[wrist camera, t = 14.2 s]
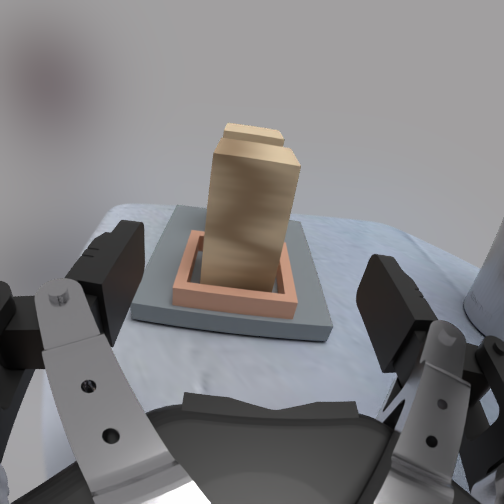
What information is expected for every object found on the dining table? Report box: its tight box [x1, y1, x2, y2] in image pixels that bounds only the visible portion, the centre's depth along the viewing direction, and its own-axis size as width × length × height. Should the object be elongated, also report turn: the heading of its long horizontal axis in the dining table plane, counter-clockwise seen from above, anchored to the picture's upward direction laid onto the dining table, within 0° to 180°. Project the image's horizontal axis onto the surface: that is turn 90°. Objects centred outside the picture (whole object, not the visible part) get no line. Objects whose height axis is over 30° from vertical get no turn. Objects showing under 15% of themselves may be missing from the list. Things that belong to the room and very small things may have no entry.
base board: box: [130, 123, 333, 341], centre depth 26 cm, size 14×17×12 cm
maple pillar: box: [200, 138, 301, 293], centre depth 22 cm, size 5×5×10 cm
